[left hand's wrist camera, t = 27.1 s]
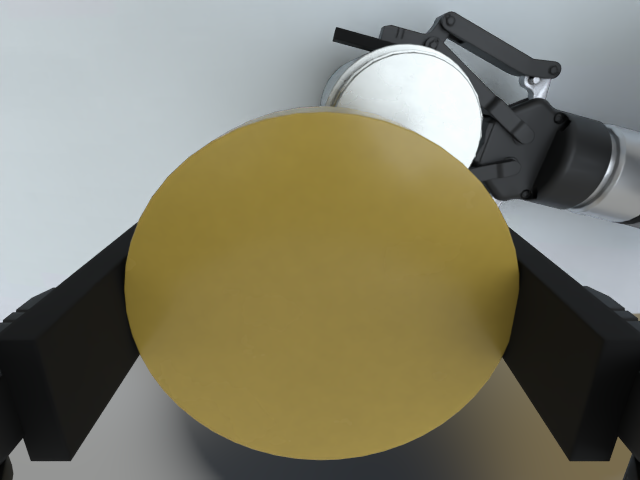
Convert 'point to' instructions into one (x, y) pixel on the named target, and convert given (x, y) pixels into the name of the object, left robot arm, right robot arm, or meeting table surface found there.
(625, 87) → the meeting table surface
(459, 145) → the jar
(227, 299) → the lid
